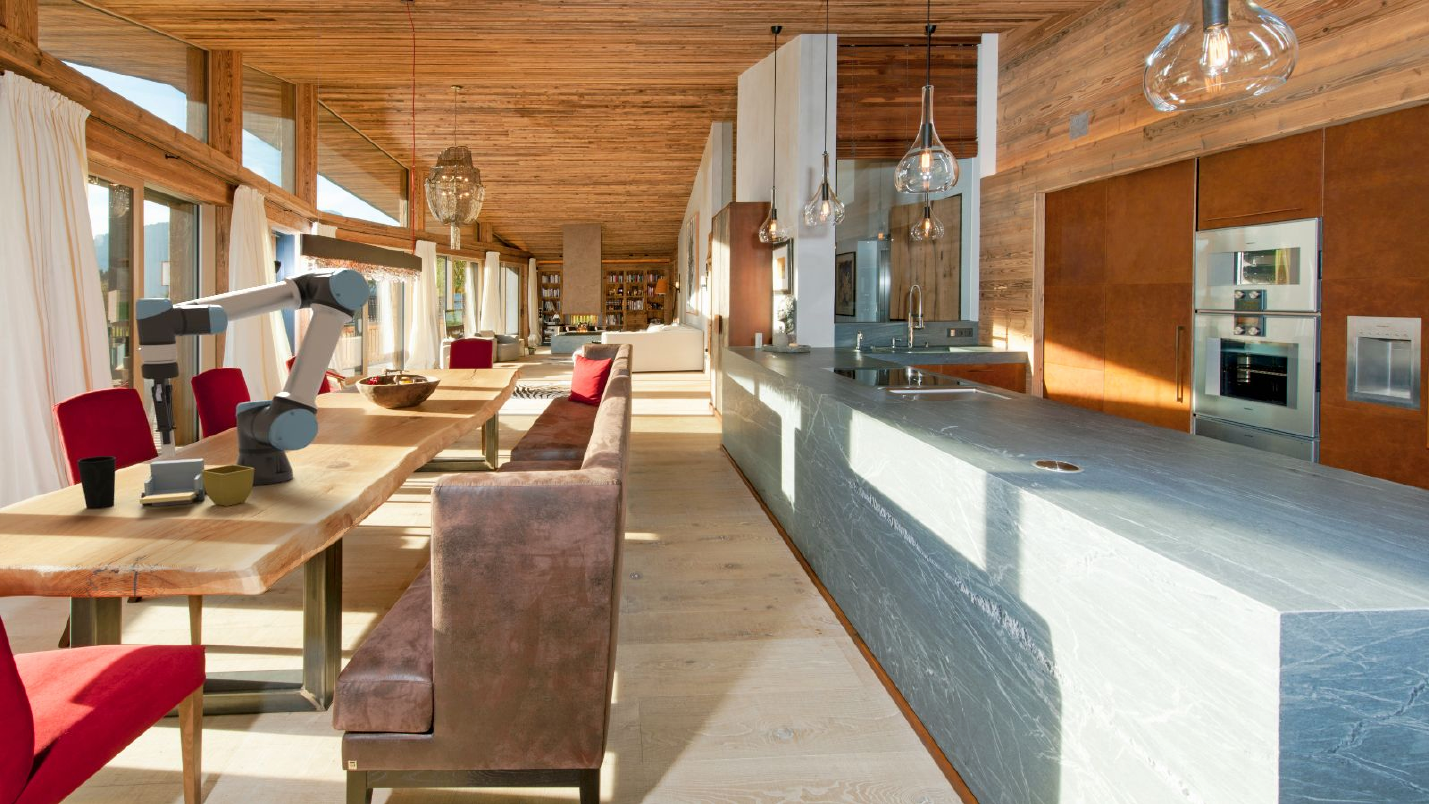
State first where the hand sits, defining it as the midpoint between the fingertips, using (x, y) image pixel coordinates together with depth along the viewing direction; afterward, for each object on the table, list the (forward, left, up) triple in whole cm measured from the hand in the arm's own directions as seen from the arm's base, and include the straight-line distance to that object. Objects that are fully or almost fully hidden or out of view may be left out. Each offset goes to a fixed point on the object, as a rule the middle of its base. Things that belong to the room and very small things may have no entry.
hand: (169, 456), depth 205 cm
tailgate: (+1, -3, -11) cm, 11 cm away
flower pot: (-12, +1, -13) cm, 18 cm away
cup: (+17, -8, -13) cm, 23 cm away
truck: (+1, -9, -13) cm, 16 cm away
